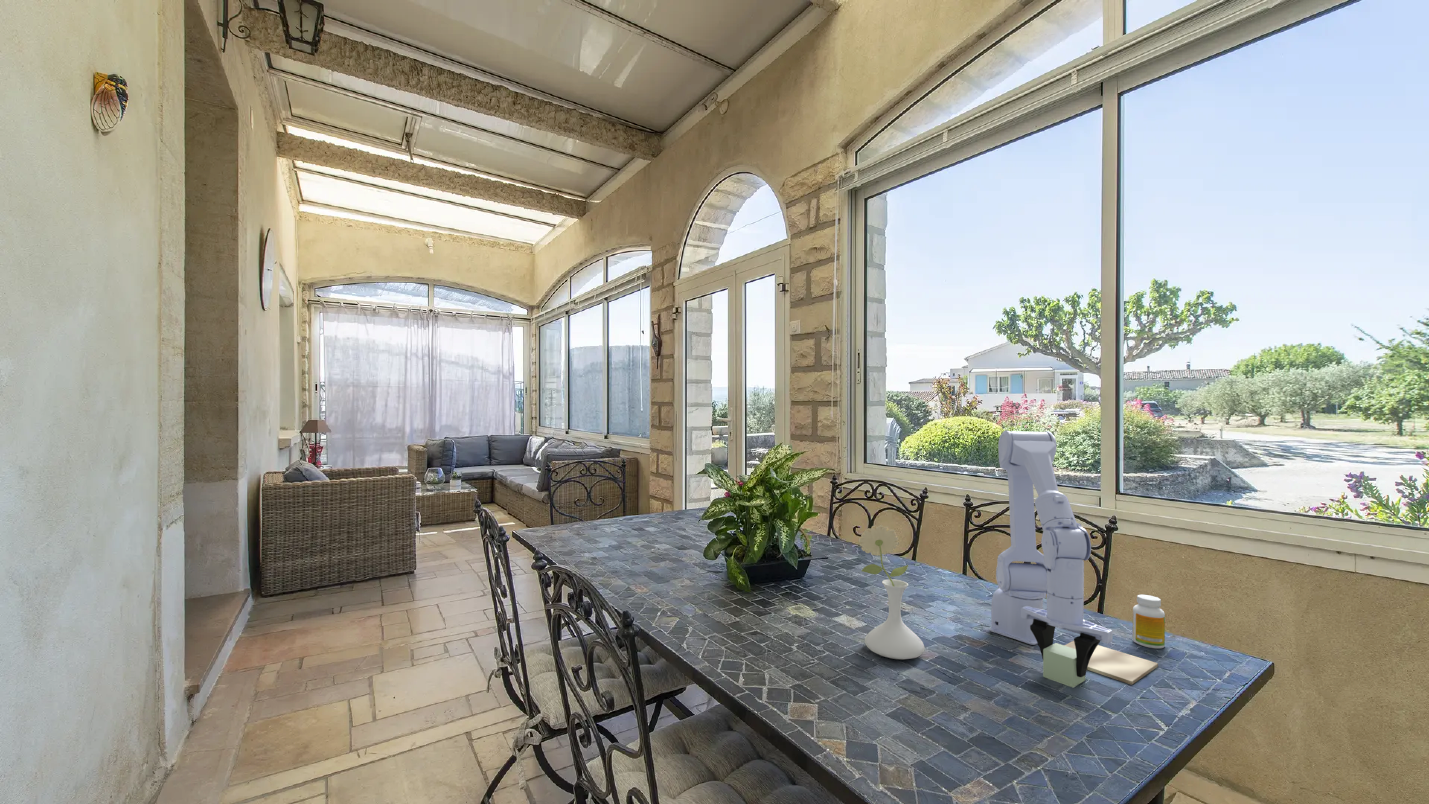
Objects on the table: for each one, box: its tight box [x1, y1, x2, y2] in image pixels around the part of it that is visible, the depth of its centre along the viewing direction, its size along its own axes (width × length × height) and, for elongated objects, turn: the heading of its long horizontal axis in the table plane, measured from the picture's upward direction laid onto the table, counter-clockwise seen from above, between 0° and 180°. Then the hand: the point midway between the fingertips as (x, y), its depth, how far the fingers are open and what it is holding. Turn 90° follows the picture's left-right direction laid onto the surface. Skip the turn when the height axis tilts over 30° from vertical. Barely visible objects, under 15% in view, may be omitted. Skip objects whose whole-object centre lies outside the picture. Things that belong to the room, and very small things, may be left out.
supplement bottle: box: [1132, 594, 1166, 649], centre depth 120 cm, size 5×5×10 cm
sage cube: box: [1042, 642, 1086, 689], centre depth 104 cm, size 5×5×5 cm
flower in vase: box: [858, 524, 926, 660], centre depth 114 cm, size 13×11×25 cm
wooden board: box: [1063, 640, 1159, 686], centre depth 111 cm, size 14×13×1 cm
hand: (1064, 669), depth 104 cm, fingers closed on sage cube, 5 cm apart
